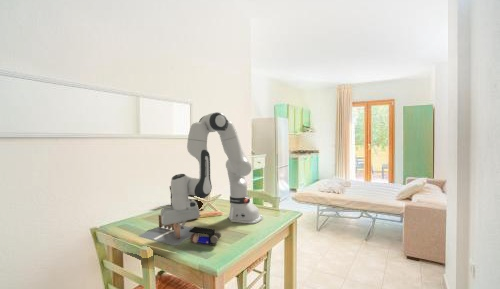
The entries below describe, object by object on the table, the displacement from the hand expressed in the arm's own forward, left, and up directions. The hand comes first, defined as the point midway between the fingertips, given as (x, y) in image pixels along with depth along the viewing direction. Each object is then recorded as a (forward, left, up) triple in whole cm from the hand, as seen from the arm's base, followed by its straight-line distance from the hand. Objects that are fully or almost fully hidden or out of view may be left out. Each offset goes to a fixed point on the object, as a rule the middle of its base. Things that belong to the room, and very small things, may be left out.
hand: (181, 229), depth 137 cm
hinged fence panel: (+2, +2, -3) cm, 4 cm away
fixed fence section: (+14, -3, -3) cm, 15 cm away
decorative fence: (+33, -41, -4) cm, 53 cm away
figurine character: (-18, +3, -4) cm, 19 cm away
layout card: (+7, +1, -3) cm, 8 cm away
